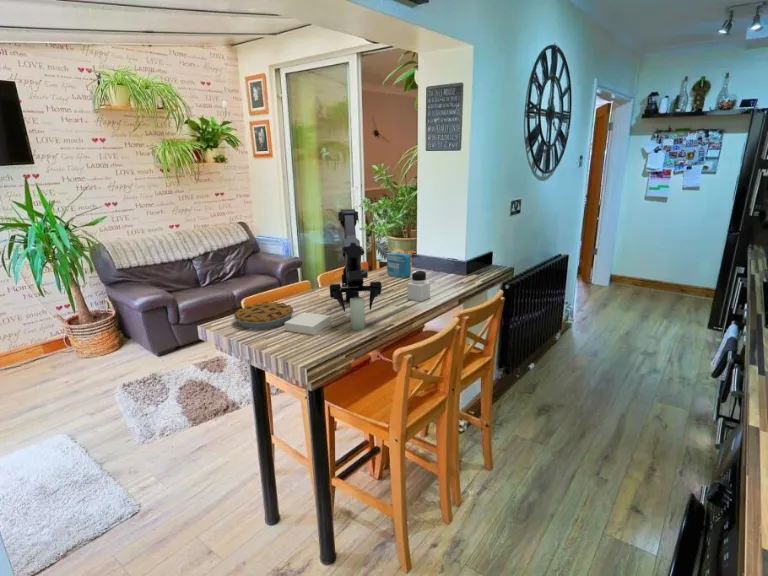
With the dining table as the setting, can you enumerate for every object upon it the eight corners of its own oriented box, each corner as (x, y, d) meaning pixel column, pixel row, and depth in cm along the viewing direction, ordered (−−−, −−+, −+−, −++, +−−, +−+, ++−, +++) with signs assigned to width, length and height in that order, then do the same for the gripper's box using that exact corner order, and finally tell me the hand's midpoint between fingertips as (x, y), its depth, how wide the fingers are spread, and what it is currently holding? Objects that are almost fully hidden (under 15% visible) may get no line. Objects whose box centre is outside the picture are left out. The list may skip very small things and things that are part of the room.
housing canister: (354, 324, 163) (353, 296, 160) (367, 326, 162) (366, 297, 159) (349, 329, 159) (347, 300, 156) (362, 331, 157) (360, 301, 154)
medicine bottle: (430, 297, 193) (430, 271, 190) (420, 301, 188) (420, 274, 185) (416, 295, 197) (416, 268, 194) (407, 299, 192) (407, 272, 189)
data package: (387, 275, 233) (386, 253, 229) (392, 273, 236) (391, 251, 233) (406, 278, 226) (405, 255, 222) (410, 276, 229) (410, 253, 226)
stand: (304, 319, 170) (303, 312, 169) (331, 323, 165) (330, 315, 164) (285, 330, 160) (284, 322, 159) (313, 334, 155) (312, 326, 154)
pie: (270, 308, 186) (269, 296, 184) (305, 318, 172) (304, 306, 171) (223, 323, 169) (222, 310, 168) (258, 335, 156) (256, 322, 155)
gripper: (328, 262, 157) (330, 301, 149) (380, 259, 159) (385, 297, 152) (328, 278, 166) (331, 315, 159) (378, 275, 169) (382, 312, 161)
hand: (357, 310), depth 157 cm, fingers open, 9 cm apart
